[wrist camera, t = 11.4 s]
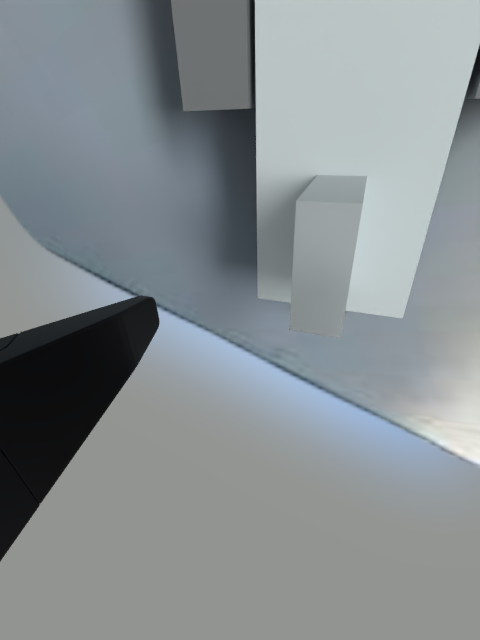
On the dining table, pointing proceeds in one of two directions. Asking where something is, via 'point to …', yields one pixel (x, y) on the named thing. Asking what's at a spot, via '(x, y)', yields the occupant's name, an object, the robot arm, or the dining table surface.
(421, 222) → the white stepped block
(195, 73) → the filter housing
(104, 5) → the dining table surface
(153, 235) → the dining table surface
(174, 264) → the dining table surface
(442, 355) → the dining table surface
